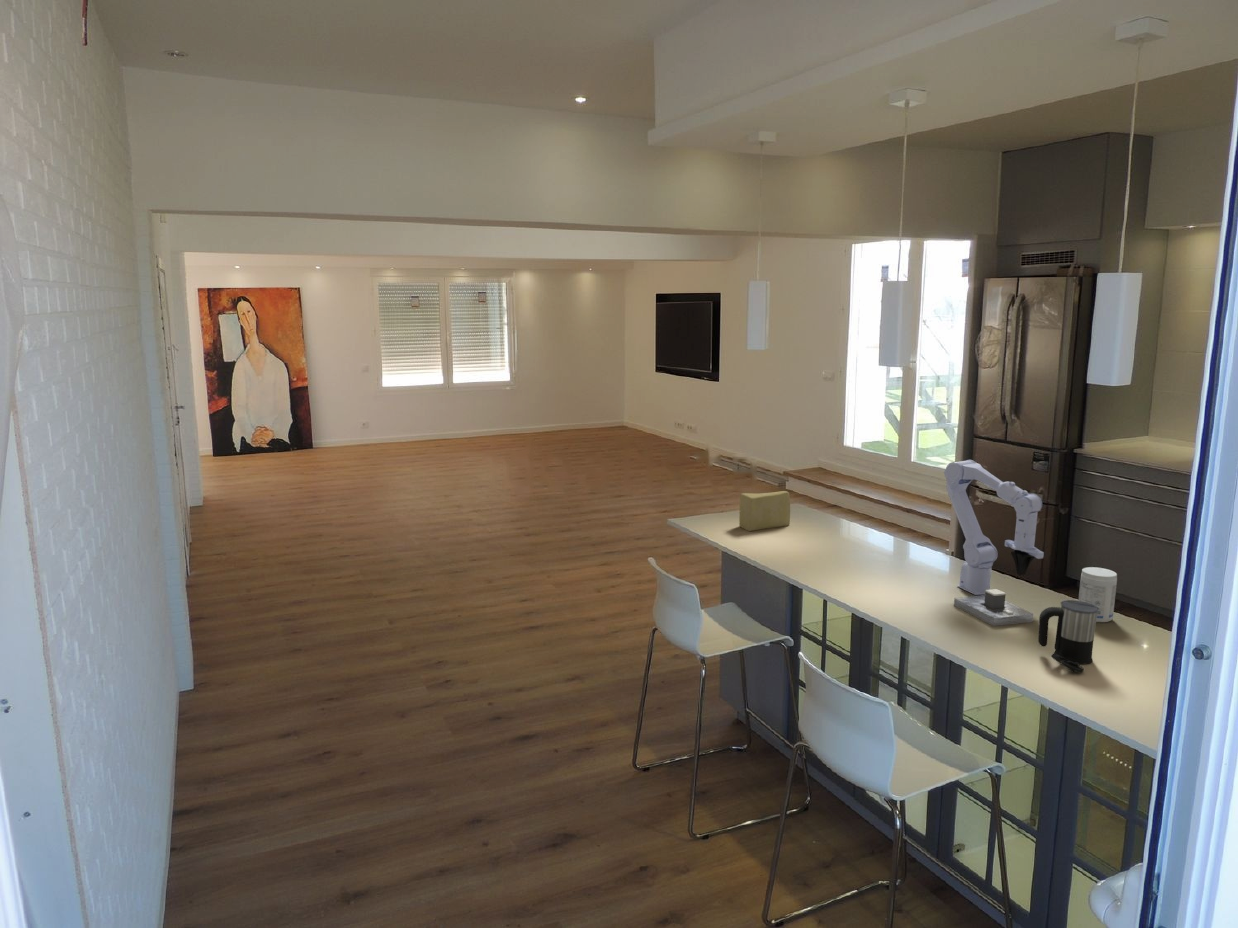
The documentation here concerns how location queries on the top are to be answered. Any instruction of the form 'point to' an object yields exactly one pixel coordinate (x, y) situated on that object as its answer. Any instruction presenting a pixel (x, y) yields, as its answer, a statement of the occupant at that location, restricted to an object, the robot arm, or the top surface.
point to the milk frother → (1071, 632)
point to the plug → (994, 599)
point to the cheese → (764, 510)
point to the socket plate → (993, 611)
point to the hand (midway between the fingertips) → (1021, 574)
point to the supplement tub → (1099, 591)
